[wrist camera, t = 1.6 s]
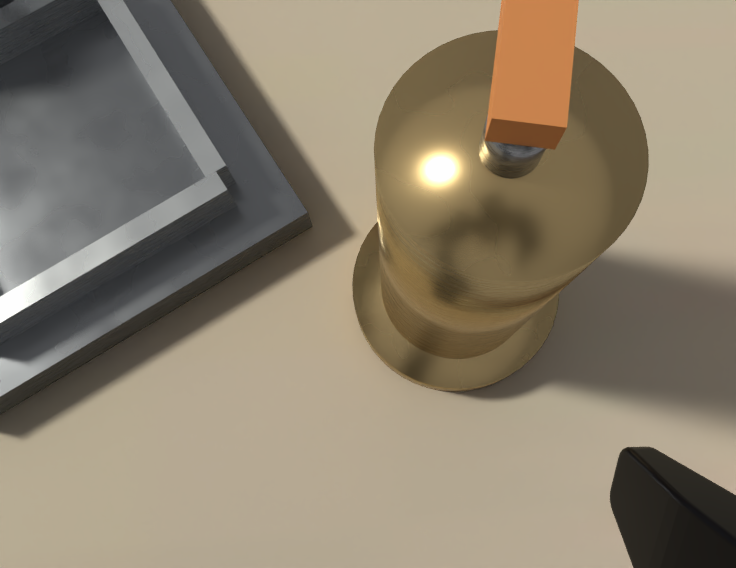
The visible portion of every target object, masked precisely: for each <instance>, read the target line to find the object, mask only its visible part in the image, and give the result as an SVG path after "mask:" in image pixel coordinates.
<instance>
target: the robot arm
mask: <svg viewBox="0 0 736 568" xmlns="http://www.w3.org/2000/svg"><path fill="white" fill-rule="evenodd" d="M610 503H611V508H612V511H613V514H614V516H615V519H616V522H617V524H618V527H619V530H620V533H621V535H622V538H623V541H624V543H625V546H626V549H627V552H628V554H629V557H630V560H631V562H632V565H633V568H736V495H734V494H733V493H731V492H729V491H727V490H726V489H724V488H722V487H720V486H719V485H717V484H715V483H713V482H712V481H710V480H708V479H707V478H705V477H703V476H701V475H700V474H698V473H696V472H694V471H693V470H691V469H689V468H687V467H686V466H684V465H682V464H680V463H679V462H677V461H675V460H673V459H672V458H670V457H668V456H667V455H665V454H663V453H661V452H660V451H658V450H656V449H654V448H652V447H627V448H625V449H623V450H622V451H621V453H620V455H619V458H618V462H617V466H616V470H615V474H614V478H613V482H612V486H611V491H610Z"/></svg>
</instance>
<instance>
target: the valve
mask: <svg viewBox="0 0 736 568" xmlns="http://www.w3.org/2000/svg"><path fill="white" fill-rule="evenodd" d="M578 1H579V0H502V2H501V11H500V19H499V27H498V30H496V31H486V32H480V33H474V34H470V35H467V36H463V37H460V38H457V39H454V40H452V41H450V42H447V43H445V44H443V45H441V46H439V47H437V48H436V49H434V50H432V51H431V52H429V53H427V54H426V55H425V56H423V57H422V58H421V59H419V60H418V61H417V62H416V63H414V64H413V65H412V66H411V67H410V68H409V69H408V70H407V71H406V72H405V73H404V74H403V75H402V77H401V78H400V79H399V81H398V82H397V83H396V85H395V86H394V87H393V89H392V91H391V92H390V94H389V96H388V98H387V99H386V101H385V103H384V106H383V108H382V111H381V114H380V116H379V120H378V124H377V128H376V133H375V143H374V158H375V178H376V197H377V217H378V222H377V223H376V224H375V225H374V227H373V228H372V229H371V231H370V232H369V234H368V235H367V237H366V239H365V240H364V242H363V244H362V246H361V248H360V251H359V254H358V256H357V259H356V263H355V268H354V274H353V299H354V305H355V310H356V314H357V318H358V321H359V324H360V327H361V330H362V332H363V334H364V336H365V338H366V340H367V342H368V343H369V345H370V346H371V348H372V350H373V351H374V352H375V353H376V355H377V356H378V357H379V358H380V359H381V360H382V361H383V362H384V363H385V364H386V365H387V366H388V367H389V368H390V369H391V370H393V371H394V372H396V373H397V374H399V375H400V376H402V377H403V378H405V379H407V380H409V381H411V382H413V383H415V384H418V385H421V386H424V387H426V388H431V389H435V390H440V391H452V392H455V391H469V390H474V389H480V388H483V387H486V386H489V385H492V384H494V383H496V382H498V381H500V380H502V379H504V378H506V377H508V376H509V375H511V374H512V373H514V372H515V371H517V370H518V369H520V368H521V367H522V366H524V365H525V364H526V363H527V362H528V361H529V360H530V359H531V358H532V357H533V356H534V355H535V354H536V353H537V352H538V350H539V349H540V348H541V346H542V345H543V343H544V342H545V340H546V339H547V337H548V335H549V333H550V330H551V328H552V326H553V323H554V320H555V317H556V313H557V308H558V301H559V292H560V291H561V290H563V289H564V288H565V287H566V286H567V285H568V284H569V283H570V282H571V281H572V280H574V279H575V278H576V277H577V276H578V275H579V274H580V273H581V272H582V271H583V270H584V269H586V268H587V267H588V266H589V265H590V264H591V263H592V262H593V261H594V260H595V259H597V258H598V257H599V256H600V255H601V254H602V253H603V252H604V251H605V250H606V249H608V248H609V247H610V246H611V245H612V244H613V243H614V242H615V241H616V240H617V239H618V237H619V236H620V235H621V234H622V233H623V232H624V231H625V229H626V228H627V226H628V225H629V223H630V222H631V220H632V218H633V217H634V215H635V213H636V211H637V209H638V207H639V204H640V202H641V200H642V197H643V193H644V190H645V186H646V182H647V174H648V146H647V139H646V133H645V130H644V127H643V124H642V120H641V117H640V115H639V113H638V111H637V109H636V107H635V104H634V102H633V101H632V99H631V98H630V96H629V95H628V93H627V91H626V90H625V88H624V87H623V86H622V85H621V83H620V82H619V81H618V80H617V79H616V77H615V76H614V75H613V74H612V73H611V72H610V71H609V70H607V69H606V68H605V67H604V66H603V65H602V64H601V63H600V62H598V61H597V60H595V59H594V58H593V57H591V56H590V55H589V54H587V53H585V52H584V51H582V50H580V49H578V48H577V47H575V46H574V45H575V34H576V23H577V12H578Z"/></svg>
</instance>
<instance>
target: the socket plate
mask: <svg viewBox="0 0 736 568" xmlns="http://www.w3.org/2000/svg"><path fill="white" fill-rule="evenodd" d="M310 227H312V224H311V221H310V218H309V215H308V212H307V211H306V209H305V207H304V206H303V204H302V203H301V201H300V200H299V198H298V197H297V195H296V194H295V192H294V190H293V189H292V187H291V186H290V184H289V183H288V181H287V180H286V178H285V177H284V175H283V173H282V172H281V170H280V169H279V167H278V166H277V164H276V163H275V161H274V160H273V158H272V156H271V155H270V153H269V152H268V150H267V149H266V147H265V146H264V144H263V143H262V141H261V139H260V138H259V136H258V135H257V133H256V132H255V130H254V129H253V127H252V126H251V124H250V122H249V121H248V119H247V118H246V116H245V115H244V113H243V112H242V110H241V109H240V107H239V105H238V104H237V102H236V101H235V99H234V98H233V96H232V95H231V93H230V91H229V90H228V88H227V87H226V85H225V84H224V82H223V81H222V79H221V78H220V76H219V74H218V73H217V71H216V70H215V68H214V67H213V65H212V64H211V62H210V61H209V59H208V57H207V56H206V54H205V53H204V51H203V50H202V48H201V47H200V45H199V44H198V42H197V40H196V39H195V37H194V36H193V34H192V33H191V31H190V30H189V28H188V27H187V25H186V23H185V22H184V20H183V19H182V17H181V16H180V14H179V13H178V11H177V10H176V8H175V6H174V5H173V3H172V2H171V0H0V414H1V413H3V412H5V411H6V410H8V409H10V408H11V407H13V406H15V405H16V404H18V403H19V402H21V401H23V400H24V399H26V398H28V397H29V396H31V395H33V394H34V393H36V392H38V391H39V390H41V389H43V388H44V387H46V386H48V385H49V384H51V383H53V382H54V381H56V380H58V379H59V378H61V377H63V376H64V375H66V374H68V373H69V372H71V371H73V370H74V369H76V368H78V367H79V366H81V365H83V364H84V363H86V362H88V361H89V360H91V359H93V358H94V357H96V356H97V355H99V354H101V353H102V352H104V351H106V350H107V349H109V348H111V347H112V346H114V345H116V344H117V343H119V342H121V341H122V340H124V339H126V338H127V337H129V336H131V335H132V334H134V333H136V332H137V331H139V330H141V329H142V328H144V327H146V326H147V325H149V324H151V323H152V322H154V321H156V320H157V319H159V318H161V317H162V316H164V315H166V314H167V313H169V312H171V311H172V310H174V309H175V308H177V307H179V306H180V305H182V304H184V303H185V302H187V301H189V300H190V299H192V298H194V297H195V296H197V295H199V294H200V293H202V292H204V291H205V290H207V289H209V288H210V287H212V286H214V285H215V284H217V283H219V282H220V281H222V280H224V279H225V278H227V277H229V276H230V275H232V274H234V273H235V272H237V271H239V270H240V269H242V268H244V267H245V266H247V265H249V264H250V263H252V262H253V261H255V260H257V259H258V258H260V257H262V256H263V255H265V254H267V253H268V252H270V251H272V250H273V249H275V248H277V247H278V246H280V245H282V244H283V243H285V242H287V241H288V240H290V239H292V238H293V237H295V236H297V235H298V234H300V233H302V232H303V231H305V230H307V229H308V228H310Z"/></svg>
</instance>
